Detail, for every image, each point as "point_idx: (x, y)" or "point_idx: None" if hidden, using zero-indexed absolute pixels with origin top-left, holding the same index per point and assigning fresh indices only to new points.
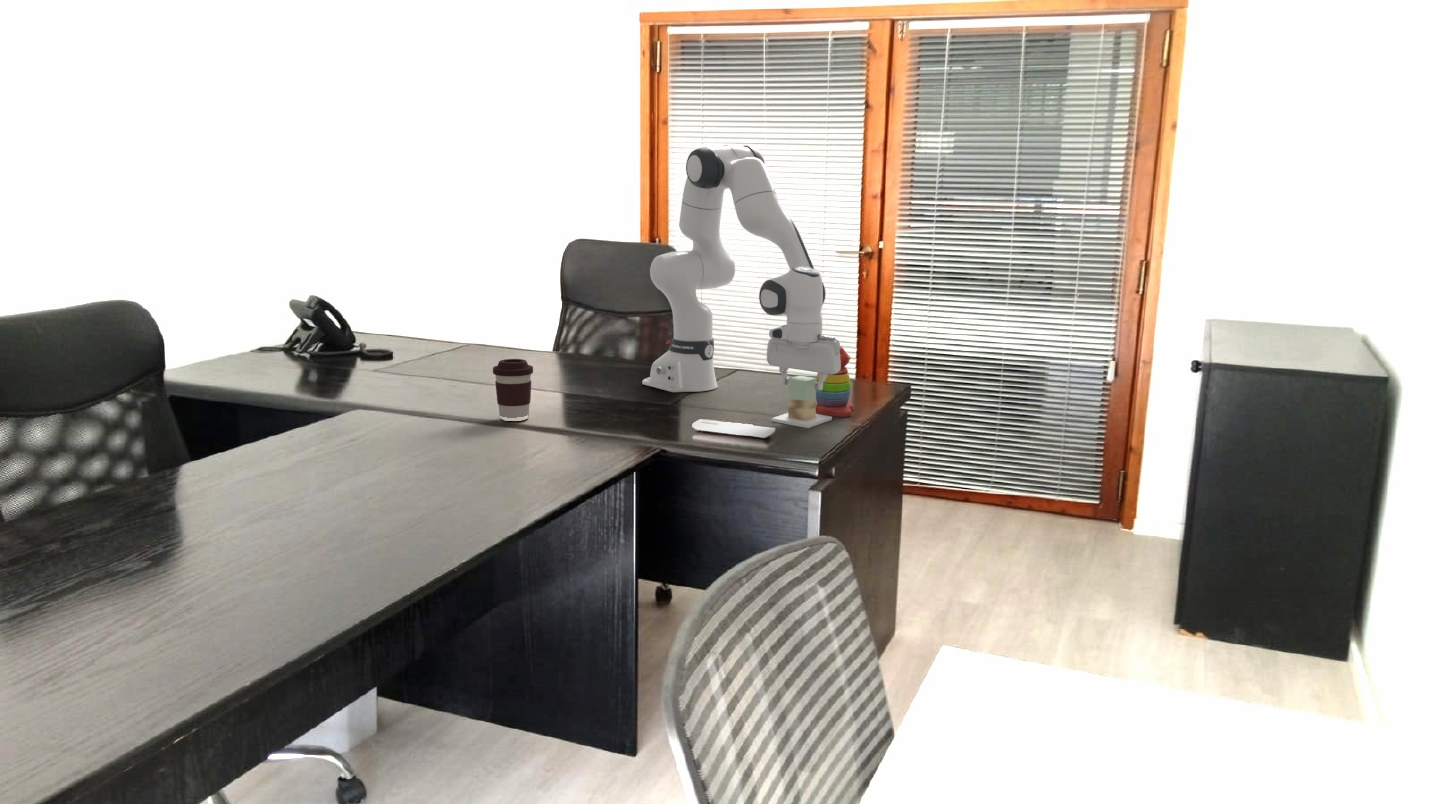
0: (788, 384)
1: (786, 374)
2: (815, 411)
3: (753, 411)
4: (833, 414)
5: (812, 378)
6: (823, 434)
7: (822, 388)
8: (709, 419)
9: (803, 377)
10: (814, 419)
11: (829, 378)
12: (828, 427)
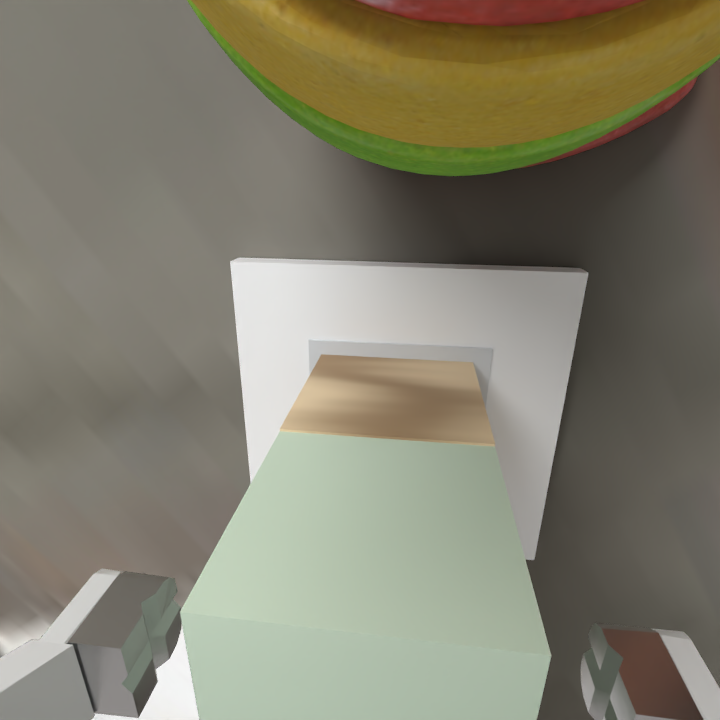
0: (177, 620)
1: (30, 709)
2: (476, 380)
3: (17, 384)
4: (551, 160)
5: (497, 698)
6: (674, 609)
7: (685, 641)
8: (22, 624)
9: (324, 696)
10: (502, 427)
11: (610, 96)
12: (642, 468)
